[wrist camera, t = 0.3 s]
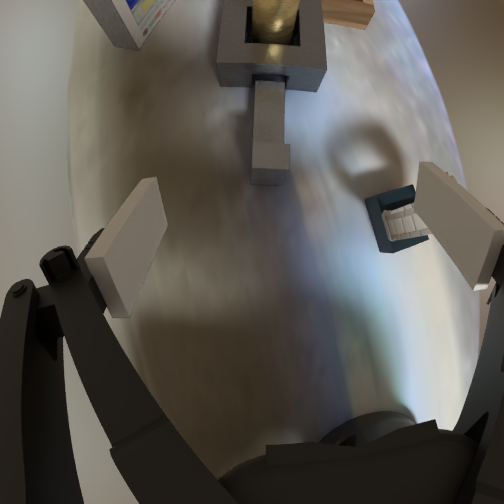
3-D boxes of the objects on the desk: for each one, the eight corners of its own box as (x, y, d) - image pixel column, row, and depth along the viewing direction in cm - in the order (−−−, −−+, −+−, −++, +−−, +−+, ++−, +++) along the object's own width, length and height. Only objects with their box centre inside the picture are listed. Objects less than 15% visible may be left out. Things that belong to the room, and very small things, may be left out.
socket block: (316, 92, 30) (327, 69, 25) (220, 86, 30) (216, 62, 25) (313, 23, 30) (320, -2, 25) (227, 18, 30) (225, -9, 25)
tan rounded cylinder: (288, 66, 30) (311, -31, 15) (250, 64, 30) (252, -36, 15) (287, 39, 30) (307, -57, 15) (252, 36, 30) (254, -62, 15)
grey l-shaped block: (280, 185, 30) (289, 169, 23) (250, 184, 30) (251, 167, 23) (282, 93, 30) (290, 58, 23) (254, 91, 30) (256, 56, 23)
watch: (427, 234, 31) (494, 231, 20) (364, 257, 31) (419, 265, 20) (413, 183, 30) (475, 162, 19) (348, 203, 30) (397, 185, 19)
